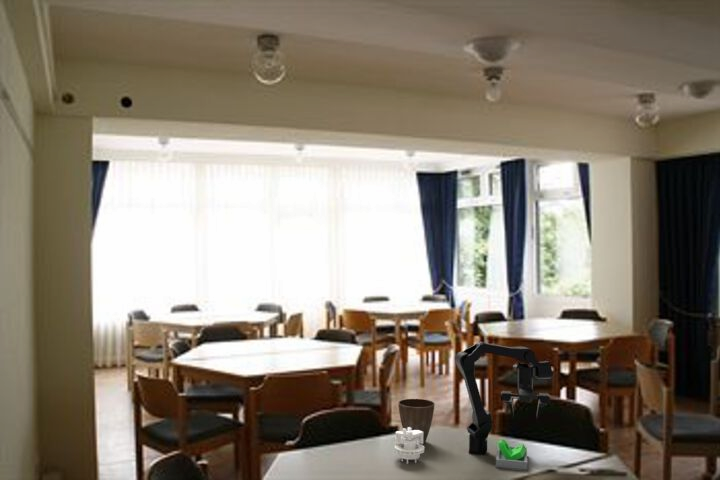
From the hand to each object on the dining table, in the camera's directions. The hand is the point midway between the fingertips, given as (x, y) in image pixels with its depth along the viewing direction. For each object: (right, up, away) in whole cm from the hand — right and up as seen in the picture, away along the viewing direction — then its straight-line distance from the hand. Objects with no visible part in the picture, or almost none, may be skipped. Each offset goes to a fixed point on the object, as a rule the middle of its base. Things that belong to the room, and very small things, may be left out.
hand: (525, 418), depth 251 cm
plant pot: (-42, -12, +8) cm, 45 cm away
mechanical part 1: (-47, -12, -14) cm, 50 cm away
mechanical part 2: (-6, -10, -14) cm, 19 cm away
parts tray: (-9, -12, -14) cm, 21 cm away
